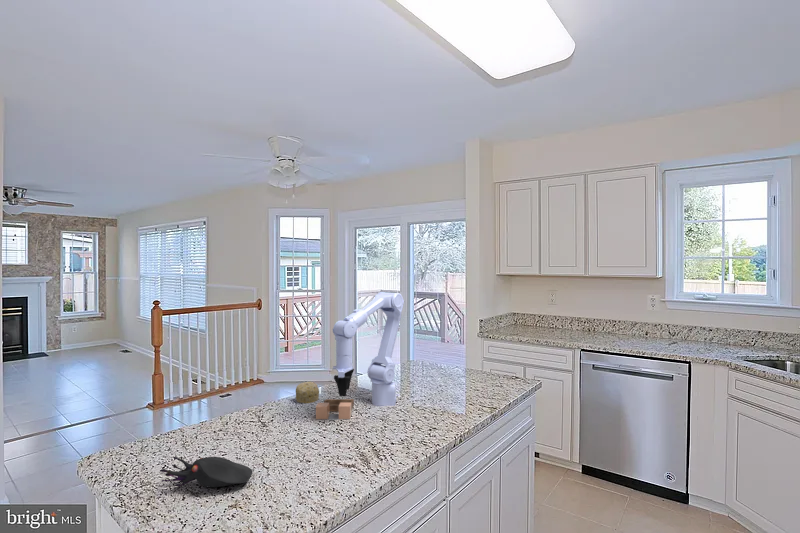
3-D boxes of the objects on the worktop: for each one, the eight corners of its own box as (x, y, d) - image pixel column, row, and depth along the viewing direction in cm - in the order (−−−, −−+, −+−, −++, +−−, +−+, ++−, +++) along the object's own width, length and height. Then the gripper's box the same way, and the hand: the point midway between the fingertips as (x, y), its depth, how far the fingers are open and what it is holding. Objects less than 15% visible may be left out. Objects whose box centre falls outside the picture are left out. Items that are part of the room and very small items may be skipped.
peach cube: (351, 414, 153) (351, 402, 153) (350, 419, 149) (349, 406, 149) (340, 414, 153) (340, 402, 153) (338, 419, 149) (338, 406, 149)
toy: (166, 471, 112) (182, 436, 112) (241, 499, 114) (256, 464, 114) (147, 492, 102) (164, 453, 102) (229, 522, 104) (246, 484, 104)
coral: (316, 396, 176) (316, 378, 176) (321, 403, 168) (320, 384, 168) (294, 399, 173) (293, 381, 173) (297, 407, 164) (297, 387, 164)
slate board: (351, 416, 154) (351, 413, 154) (349, 421, 149) (349, 419, 148) (319, 416, 154) (319, 414, 154) (315, 422, 149) (315, 419, 149)
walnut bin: (353, 406, 164) (353, 399, 163) (351, 413, 157) (351, 405, 156) (325, 407, 164) (325, 399, 164) (321, 413, 157) (321, 405, 157)
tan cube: (329, 415, 153) (329, 402, 153) (327, 419, 149) (327, 406, 149) (318, 415, 153) (318, 402, 153) (316, 419, 149) (315, 406, 149)
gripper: (336, 350, 158) (336, 386, 158) (329, 358, 144) (329, 398, 144) (355, 350, 158) (355, 386, 158) (350, 359, 144) (350, 399, 144)
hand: (344, 392), depth 151 cm, fingers open, 7 cm apart
